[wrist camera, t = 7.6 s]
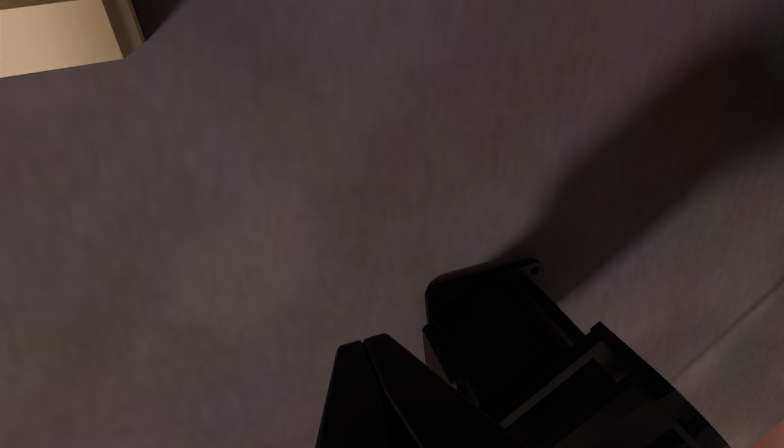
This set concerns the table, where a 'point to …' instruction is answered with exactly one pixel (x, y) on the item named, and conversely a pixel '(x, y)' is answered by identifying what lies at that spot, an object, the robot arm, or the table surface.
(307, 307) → the table surface
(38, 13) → the cradle
